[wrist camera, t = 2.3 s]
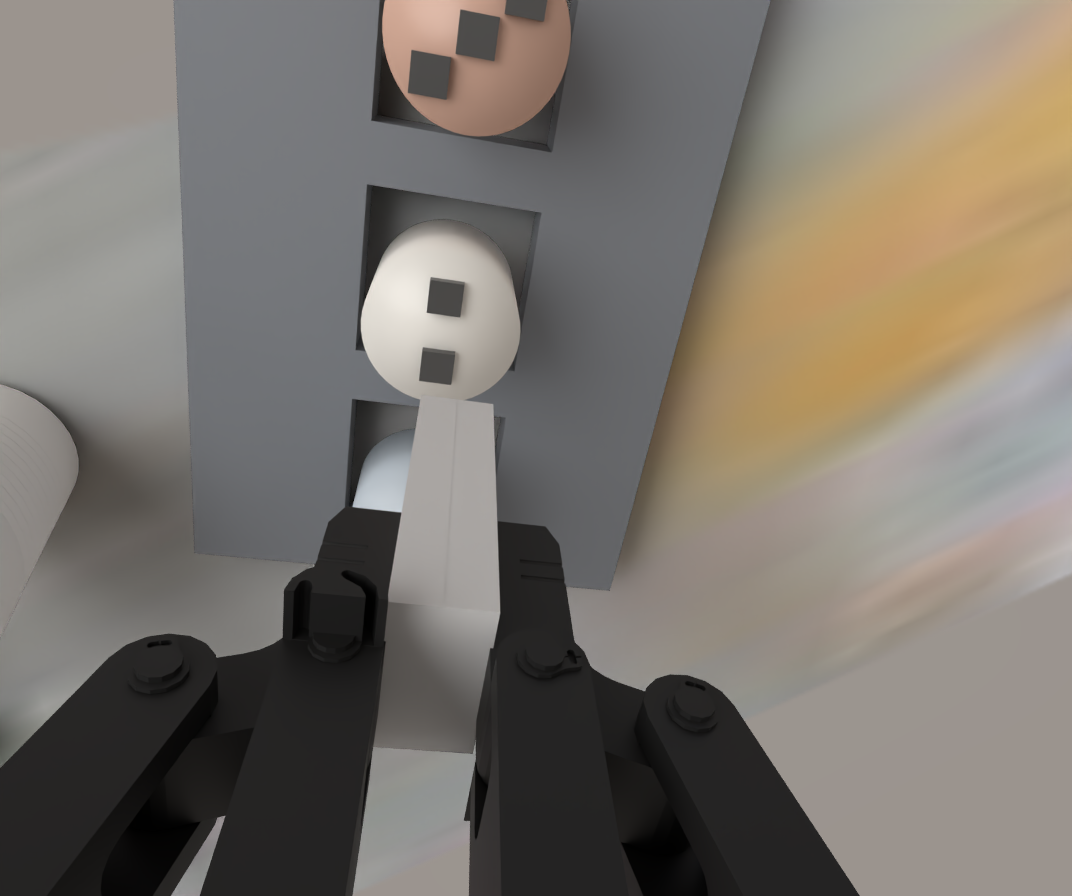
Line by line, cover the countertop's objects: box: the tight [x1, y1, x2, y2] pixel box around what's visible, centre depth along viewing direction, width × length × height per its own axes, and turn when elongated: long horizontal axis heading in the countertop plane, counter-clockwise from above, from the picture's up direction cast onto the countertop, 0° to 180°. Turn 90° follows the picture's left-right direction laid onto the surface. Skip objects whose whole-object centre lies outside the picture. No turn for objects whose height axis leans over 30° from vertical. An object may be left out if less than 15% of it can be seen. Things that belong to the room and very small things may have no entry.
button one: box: [353, 429, 415, 513], centre depth 29 cm, size 5×5×5 cm
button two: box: [361, 219, 520, 400], centre depth 25 cm, size 5×5×5 cm
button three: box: [382, 0, 571, 136], centre depth 21 cm, size 5×5×5 cm
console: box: [174, 0, 771, 591], centre depth 29 cm, size 18×26×2 cm
